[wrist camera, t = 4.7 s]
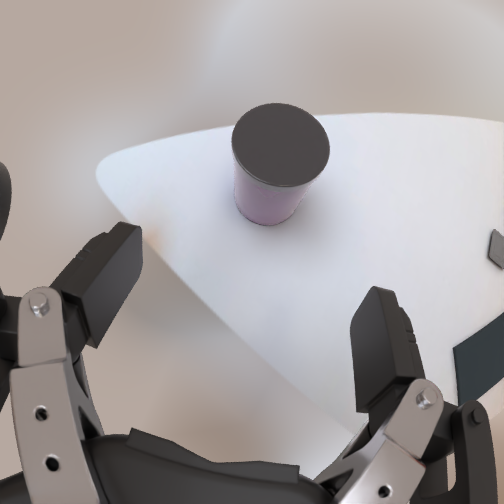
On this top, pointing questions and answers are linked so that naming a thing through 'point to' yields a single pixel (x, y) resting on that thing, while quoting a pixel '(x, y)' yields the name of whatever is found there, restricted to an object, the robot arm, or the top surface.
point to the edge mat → (480, 361)
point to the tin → (276, 160)
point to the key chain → (497, 248)
